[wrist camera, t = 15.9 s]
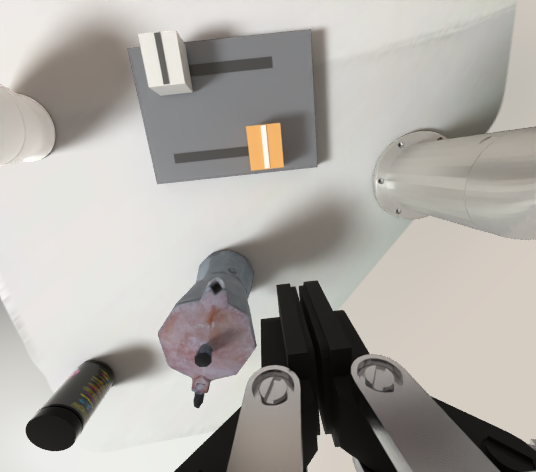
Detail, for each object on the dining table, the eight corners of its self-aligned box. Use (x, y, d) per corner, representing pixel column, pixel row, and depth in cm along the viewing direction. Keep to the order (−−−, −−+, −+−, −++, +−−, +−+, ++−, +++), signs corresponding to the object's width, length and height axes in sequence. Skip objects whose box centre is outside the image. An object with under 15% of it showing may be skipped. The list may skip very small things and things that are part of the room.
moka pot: (261, 235, 40) (265, 301, 20) (251, 320, 44) (246, 443, 24) (200, 228, 39) (143, 291, 20) (195, 316, 43) (145, 438, 24)
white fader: (185, 45, 30) (175, 29, 26) (192, 92, 31) (184, 83, 28) (151, 48, 30) (137, 33, 26) (160, 95, 31) (148, 86, 28)
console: (306, 39, 33) (310, 28, 30) (313, 166, 37) (317, 166, 35) (137, 57, 33) (127, 47, 30) (163, 182, 37) (156, 184, 34)
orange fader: (277, 127, 33) (280, 122, 29) (281, 167, 34) (283, 167, 30) (247, 130, 33) (245, 126, 29) (251, 170, 34) (251, 170, 30)
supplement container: (91, 352, 44) (41, 407, 34) (123, 373, 46) (85, 431, 36) (69, 375, 45) (16, 435, 35) (102, 395, 47) (59, 458, 37)
